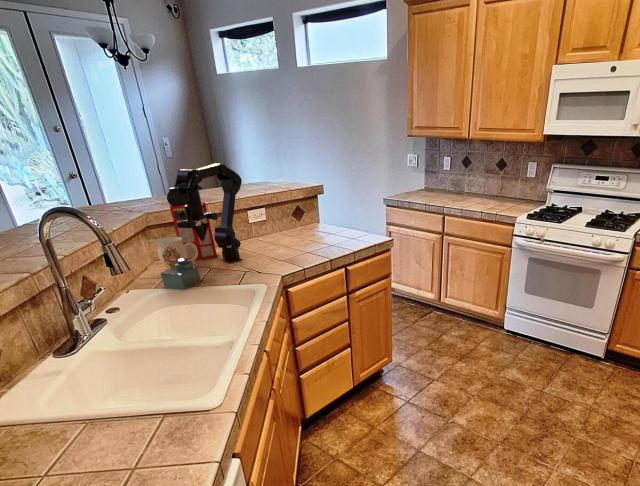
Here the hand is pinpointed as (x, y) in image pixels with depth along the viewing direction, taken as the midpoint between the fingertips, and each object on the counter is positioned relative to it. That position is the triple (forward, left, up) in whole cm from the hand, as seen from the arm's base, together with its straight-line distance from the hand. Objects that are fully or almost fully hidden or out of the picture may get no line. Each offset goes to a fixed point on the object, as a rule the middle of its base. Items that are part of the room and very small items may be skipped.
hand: (202, 240), depth 181 cm
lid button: (+13, +8, -5) cm, 16 cm away
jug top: (+16, +10, -13) cm, 23 cm away
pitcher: (+8, -12, -13) cm, 20 cm away
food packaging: (-6, -23, -13) cm, 27 cm away
